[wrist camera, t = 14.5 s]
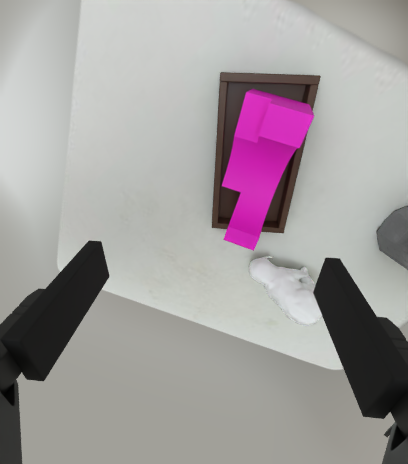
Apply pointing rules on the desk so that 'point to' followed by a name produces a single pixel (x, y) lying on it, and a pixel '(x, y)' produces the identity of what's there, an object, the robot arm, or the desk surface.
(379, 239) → the coffeepot
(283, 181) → the dark brown rectangular tray
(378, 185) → the desk surface
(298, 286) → the white lumpy piece
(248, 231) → the magenta curved bracket
